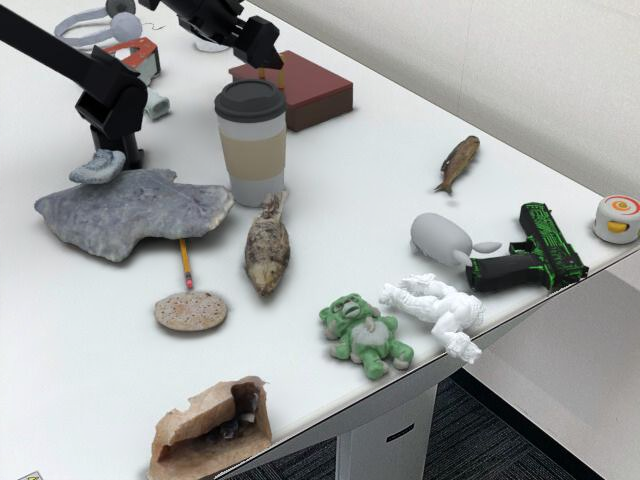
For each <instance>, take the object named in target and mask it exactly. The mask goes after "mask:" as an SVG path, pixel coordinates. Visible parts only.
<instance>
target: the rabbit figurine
mask: <svg viewBox="0 0 640 480" xmlns="http://www.w3.org/2000/svg"><path fill="white" fill-rule="evenodd" d="M410 237H411V238H410V240H409V247H410V248H411V249H412V251H413V252H420V251H422V254H423V255H424V256H426V257H427V256H429V257H431V258H432V259H434V260H435V261H436V262H437V263H441V264H443V265H446V266H449V267H456V266H461V265H464V266H466V265H467V266H472V262H471V260H470V258H471V254H472V251H474V252H476V253H478V254H483V255H484V254H485V255H486V254H487V255H489V254H492V253H494V252H497V251H498V250H499V249H500V248H501V247H502V246H503V243H502V242H499V241H482V242H478V243H475V244H473V240H472V238H471V236H470V235H469V233H467V231H465V230H464V229H463V228H462V227H460V226H459V225H458V224H456V223H455V222H453V221H451V220H450V219H448V218H447V217H445V216H442V215H440V214H438V213H434V212H423V213H420V214H419V215H417V216H416V217H415V218H414V220H413V222H412V224H411V227H410Z"/></svg>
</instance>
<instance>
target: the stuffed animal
mask: <svg viewBox="0 0 640 480" xmlns="http://www.w3.org/2000/svg"><path fill="white" fill-rule="evenodd" d="M381 314H382V313H381V311H380V309H379V308H378V307H376V306H373V305H371V304H370V303H369V302H368V301H366V300H365V299H363V298H362V296H361V294H359V293H356V292H352V293H350V294H347V295H344V296H343V295H342V296H340V297H339V298H337V299H336V300H334V301H333V302H332V303H331V304H330V306H326V307H324V308H322V309H321V310H320V311H319V312H318V317H319V318H320V319H321V320H322V321H326V326H327V328H326V330H325V331H324V334H325V337H326V338H327V339H328V340H337V339H339V338H340V339H339V340H338V343H333V344H331V345H330V348H329V354H330V356H332V357H333V358H338V359H340V360H347V359H349V358H350V360H351V361H352V362H353V363H355V364H362V363H363V366H364V369H365V373H366V376H367V378H369V379H372V380H377V379H379V378H381V377H383V375H384V374H386V373H388V372H389V370H390V366H389V364H388V363H387V362H385V361H384V360H382V359H385V358H386V357H388V354H389V353H390V354H391V356H392V357H393V362H392V363H393V366H394V368H396V369H398V370H405V369H407V368H409V364H410V362H411V361H412V360H413V359H414V357H415V356H414V355H415V351H414V348H413V347H412V346H410V345H408V344H406V343H403V342H402V341H400V340H398V339H395V338H394V333H393V332H396V331H397V330H398V328H399V321H398V318H397V317H396V316H393V315H391V316H390V315H385V316H382V315H381Z"/></svg>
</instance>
